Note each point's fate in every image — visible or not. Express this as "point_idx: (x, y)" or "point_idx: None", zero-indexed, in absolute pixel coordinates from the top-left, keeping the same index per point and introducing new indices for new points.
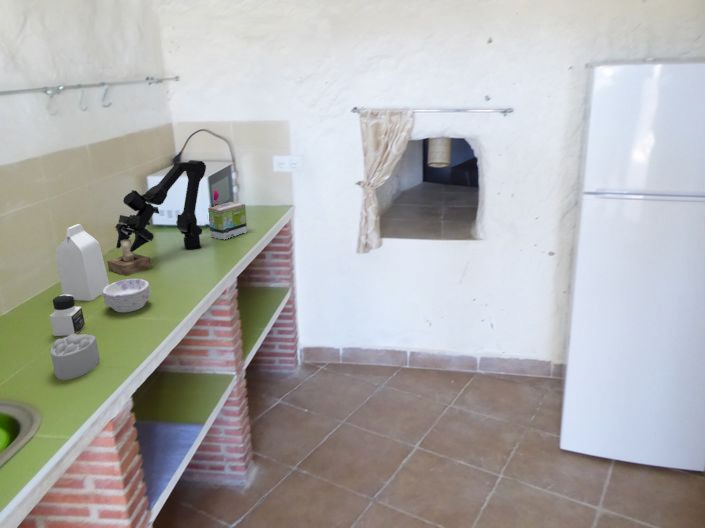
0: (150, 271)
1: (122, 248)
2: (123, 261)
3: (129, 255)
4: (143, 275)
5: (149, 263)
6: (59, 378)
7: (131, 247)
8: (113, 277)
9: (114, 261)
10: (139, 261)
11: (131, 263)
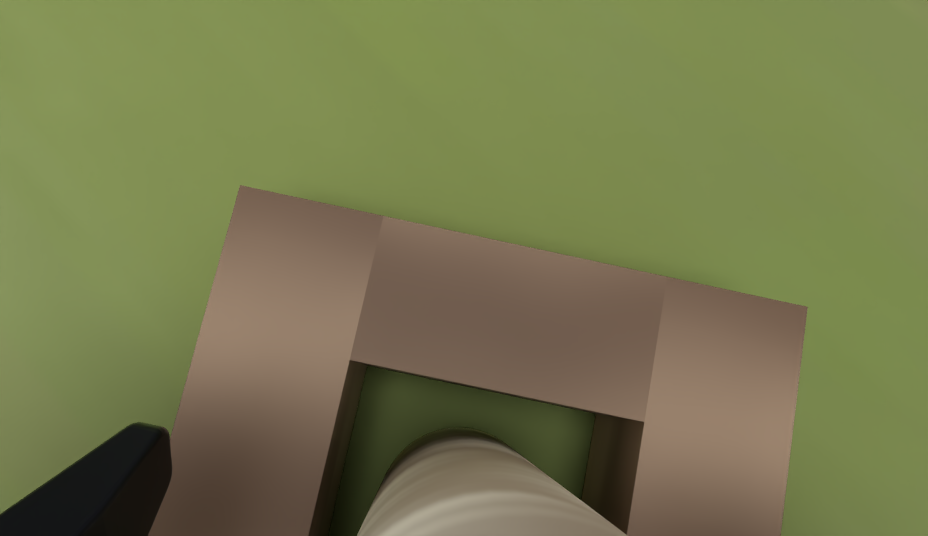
0: None
1: (526, 479)
2: None
3: (366, 517)
4: (15, 326)
5: None
6: None
7: (69, 502)
8: (416, 113)
9: (651, 336)
10: None
11: (218, 355)
